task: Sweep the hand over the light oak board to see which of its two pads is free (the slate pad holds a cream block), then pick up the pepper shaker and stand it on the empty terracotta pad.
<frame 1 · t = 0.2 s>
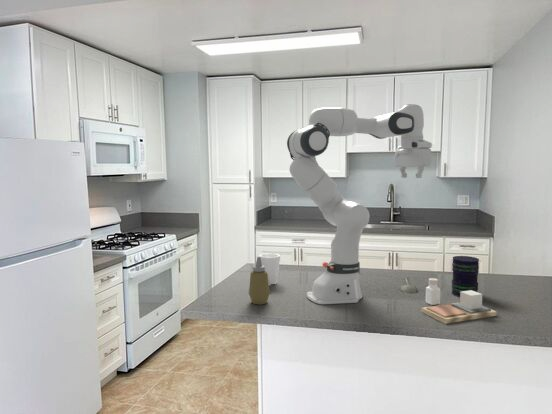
hand: (411, 177, 168), 48 cm above the counter, tool pointing down, fingers open, 8 cm apart
storage jar: (464, 294, 164), on the counter
squeeze bottle: (259, 303, 156), on the counter
oak board: (458, 313, 142), on the counter
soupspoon: (408, 287, 177), on the counter
foam cup: (269, 283, 183), on the counter
cream block: (470, 306, 144), point 2 cm above the counter, touching oak board
pepper shaker: (432, 304, 153), on the counter
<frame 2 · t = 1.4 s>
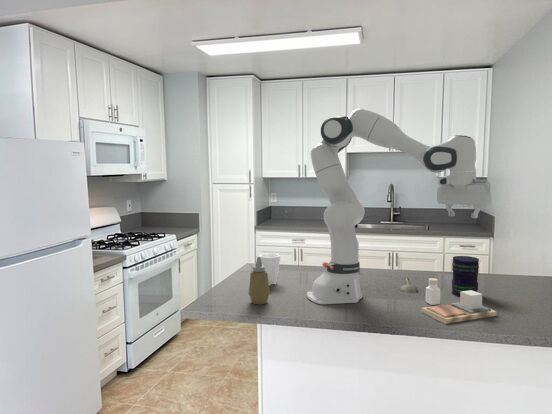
hand: (462, 217, 148), 33 cm above the counter, tool pointing down, fingers open, 8 cm apart
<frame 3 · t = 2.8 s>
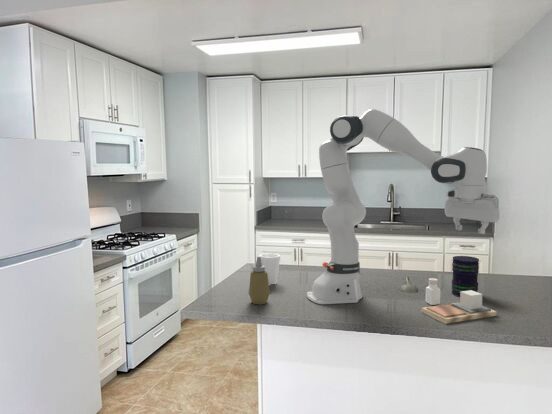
hand: (469, 231, 143), 29 cm above the counter, tool pointing down, fingers open, 8 cm apart
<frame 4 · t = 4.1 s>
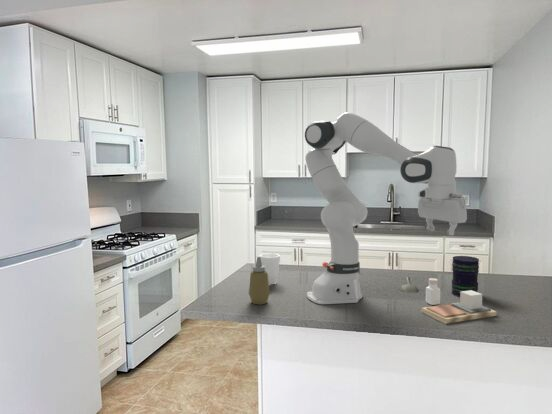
hand: (440, 233, 139), 29 cm above the counter, tool pointing down, fingers open, 8 cm apart
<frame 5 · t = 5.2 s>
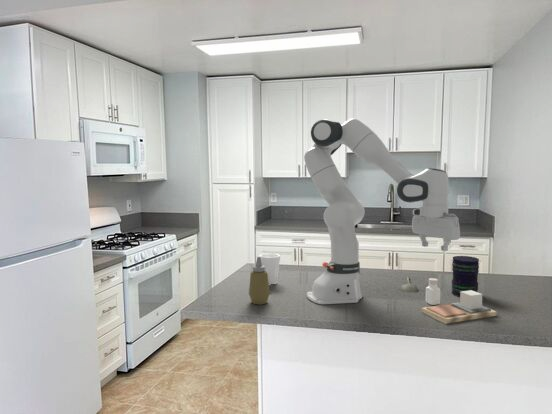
hand: (434, 248, 150), 22 cm above the counter, tool pointing down, fingers open, 8 cm apart
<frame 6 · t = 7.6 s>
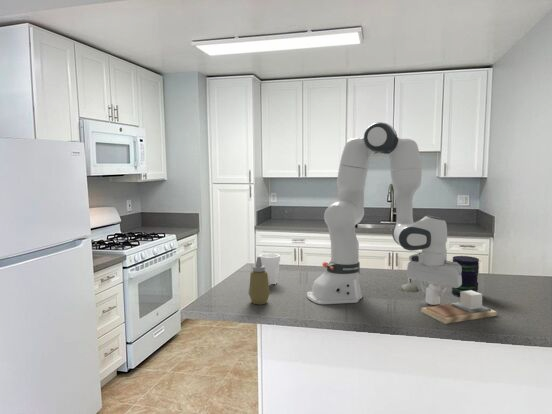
hand: (432, 294, 153), 4 cm above the counter, tool pointing down, fingers closed on pepper shaker, 5 cm apart
pepper shaker: (432, 304, 153), on the counter, touching gripper
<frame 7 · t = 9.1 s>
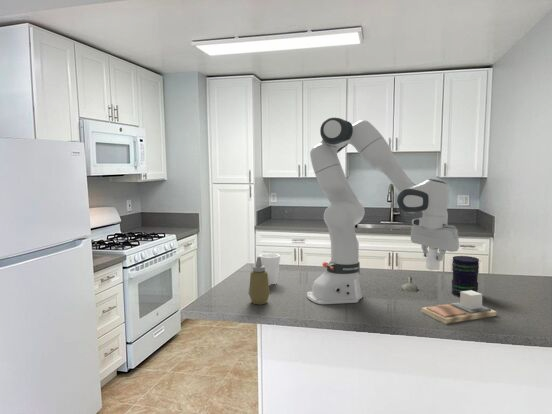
hand: (432, 258, 152), 17 cm above the counter, tool pointing down, fingers closed on pepper shaker, 5 cm apart
pepper shaker: (432, 269, 152), point 13 cm above the counter, touching gripper
when the fingers open (7 cm above the counter, at t = 12.9 s): pepper shaker drops 1 cm, resting on oak board.
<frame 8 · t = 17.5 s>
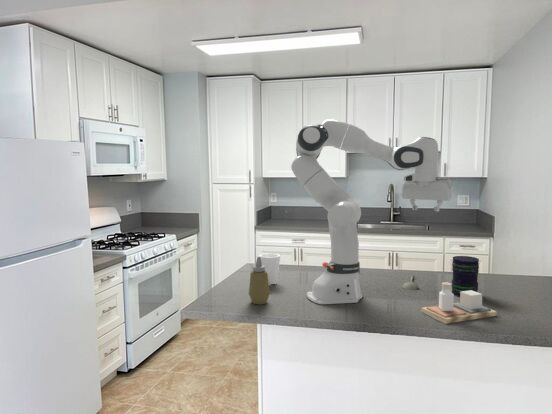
hand: (425, 210, 165), 34 cm above the counter, tool pointing down, fingers open, 8 cm apart
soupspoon: (411, 284, 181), on the counter
pepper shaker: (445, 310, 140), point 2 cm above the counter, touching oak board
everything else where it was.
at the end: pepper shaker inside the target area on the oak board (0.0 cm from its centre), point 1.8 cm above the oak board's base; pepper shaker tilted 0°; the gripper is holding nothing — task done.
